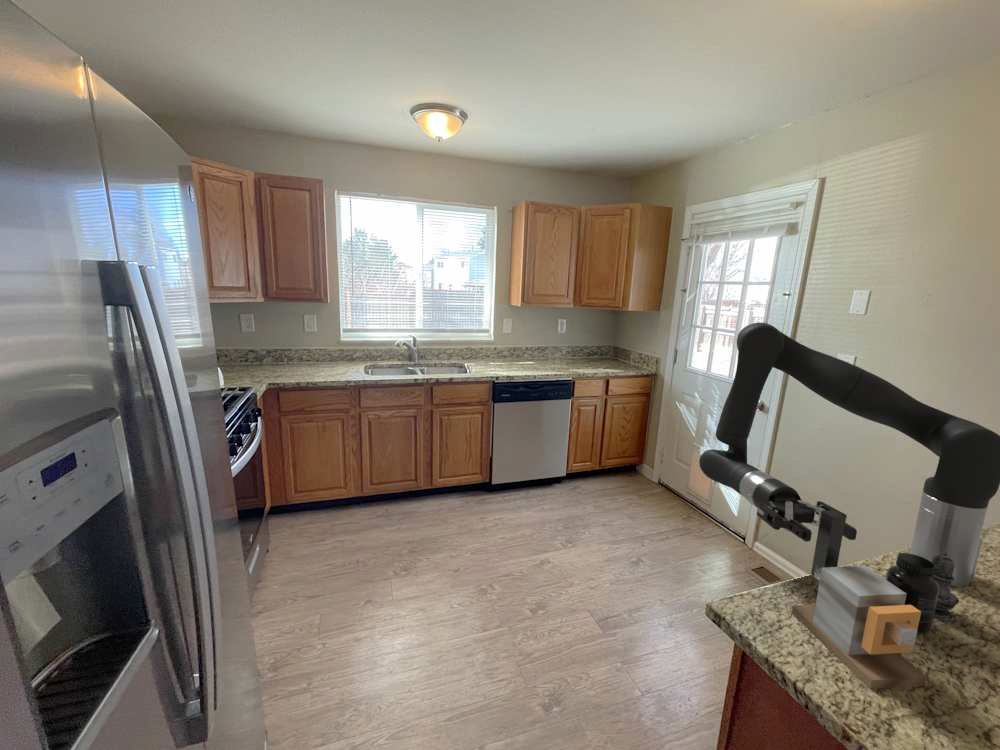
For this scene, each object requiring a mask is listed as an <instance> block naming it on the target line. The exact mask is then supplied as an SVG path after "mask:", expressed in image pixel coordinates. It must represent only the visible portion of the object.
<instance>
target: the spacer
mask: <svg viewBox="0 0 1000 750" xmlns="http://www.w3.org/2000/svg"><path fill="white" fill-rule="evenodd" d="M920 616H921V611H919V610H918V609H916V608H915V607H914V606H912V605H895V606H875V607H869V609H868V614H867V619H866V624H865V629H864V635H863V640H862V645H861V647H862V648H863V649H864V650H866V651H867V652H868V653H869V654H870V655H873V654H889V653H899V654H901V653H902V654H903V653H913V652H914V647H915V644H914V645H898V644H897V643H896V642H895V641H893V640H892V639H891V638H890V637H883V634H884V629H885V624H886V622H903V621H906V622H907V623H908V624H910V625H911V626H912V627H914V628H915V629H916V630H917V629H918V625H919V620H920Z"/></svg>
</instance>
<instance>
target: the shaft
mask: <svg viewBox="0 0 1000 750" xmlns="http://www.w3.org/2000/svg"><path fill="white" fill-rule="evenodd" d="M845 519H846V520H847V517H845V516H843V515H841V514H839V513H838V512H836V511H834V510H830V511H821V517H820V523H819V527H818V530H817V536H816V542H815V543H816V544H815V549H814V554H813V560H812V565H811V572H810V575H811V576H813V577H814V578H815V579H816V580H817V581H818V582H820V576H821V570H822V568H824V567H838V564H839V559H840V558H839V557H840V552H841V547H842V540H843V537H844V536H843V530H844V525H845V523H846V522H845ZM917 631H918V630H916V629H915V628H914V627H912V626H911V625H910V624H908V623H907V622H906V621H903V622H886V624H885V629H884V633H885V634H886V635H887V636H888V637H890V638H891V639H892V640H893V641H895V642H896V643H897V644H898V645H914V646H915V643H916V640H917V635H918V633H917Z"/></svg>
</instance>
